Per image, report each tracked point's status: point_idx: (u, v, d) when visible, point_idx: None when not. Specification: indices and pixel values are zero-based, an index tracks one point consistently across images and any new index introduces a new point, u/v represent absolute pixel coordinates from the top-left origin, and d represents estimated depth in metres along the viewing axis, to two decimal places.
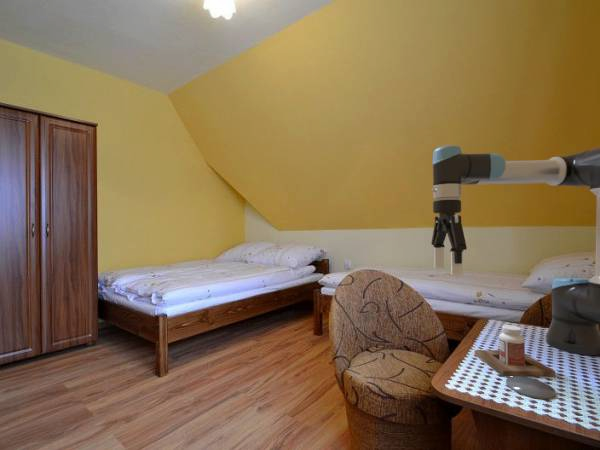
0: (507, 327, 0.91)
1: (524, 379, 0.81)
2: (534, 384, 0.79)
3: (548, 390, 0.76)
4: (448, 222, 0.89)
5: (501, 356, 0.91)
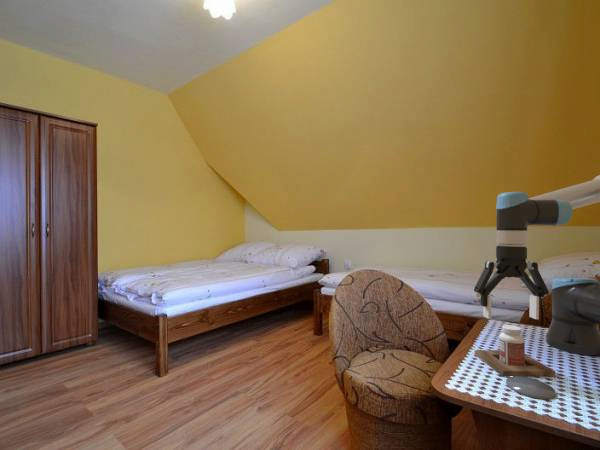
0: (507, 327, 0.91)
1: (524, 379, 0.81)
2: (534, 384, 0.79)
3: (548, 390, 0.76)
4: None
5: (501, 356, 0.91)
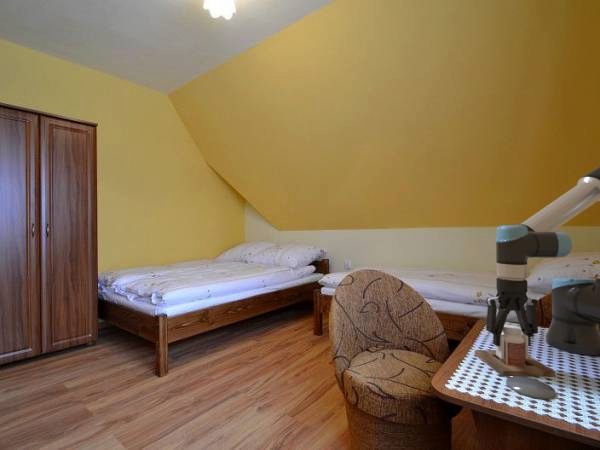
0: (507, 327, 0.91)
1: (524, 379, 0.81)
2: (534, 384, 0.79)
3: (548, 390, 0.76)
4: None
5: None
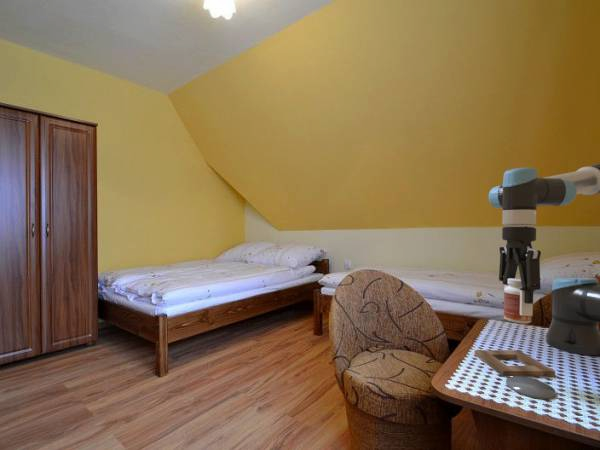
0: (514, 278, 0.86)
1: (524, 379, 0.81)
2: (534, 384, 0.79)
3: (548, 390, 0.76)
4: None
5: None
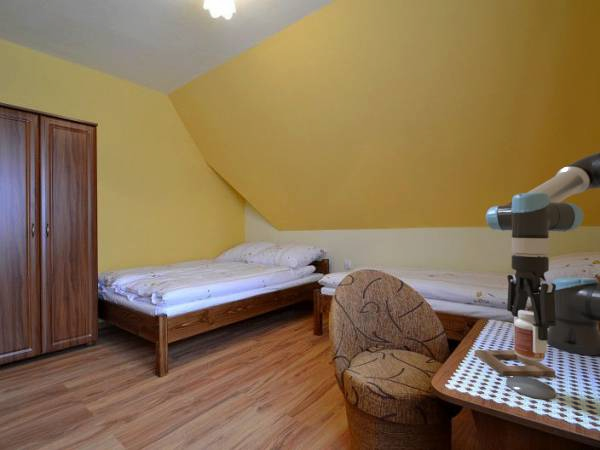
0: (525, 311, 0.80)
1: (524, 379, 0.81)
2: (534, 384, 0.79)
3: (548, 390, 0.76)
4: None
5: None
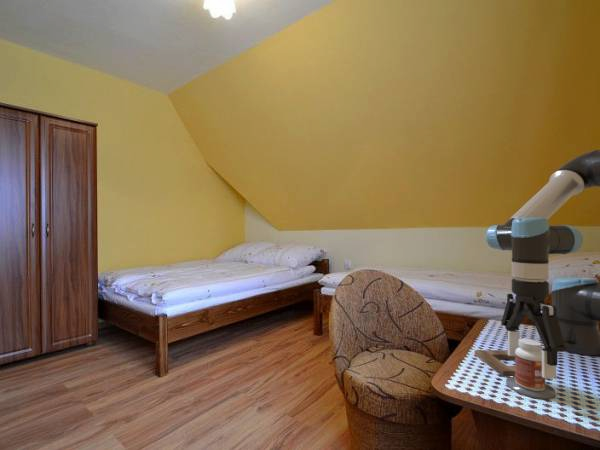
0: (526, 339, 0.80)
1: None
2: None
3: (548, 390, 0.76)
4: None
5: None
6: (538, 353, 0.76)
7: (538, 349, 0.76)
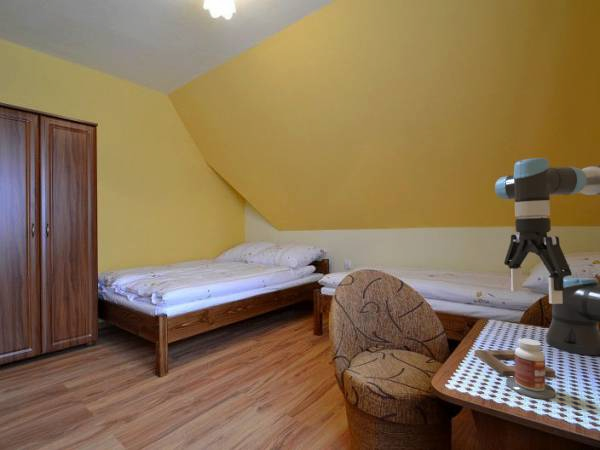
0: (525, 339, 0.80)
1: None
2: None
3: (548, 390, 0.76)
4: None
5: None
6: (538, 353, 0.76)
7: (538, 349, 0.76)
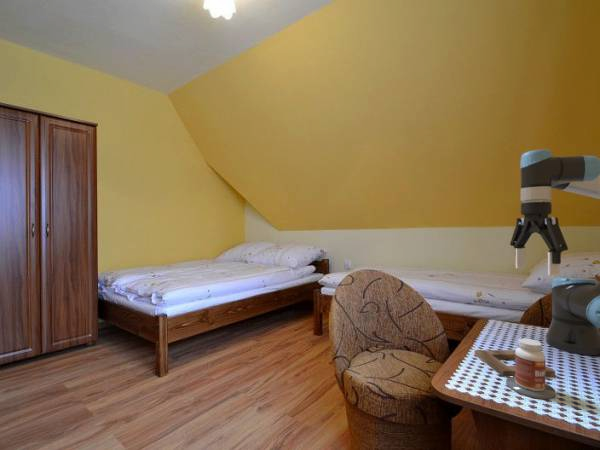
0: (526, 340, 0.80)
1: None
2: None
3: (548, 390, 0.76)
4: None
5: None
6: (538, 353, 0.76)
7: (538, 349, 0.76)
